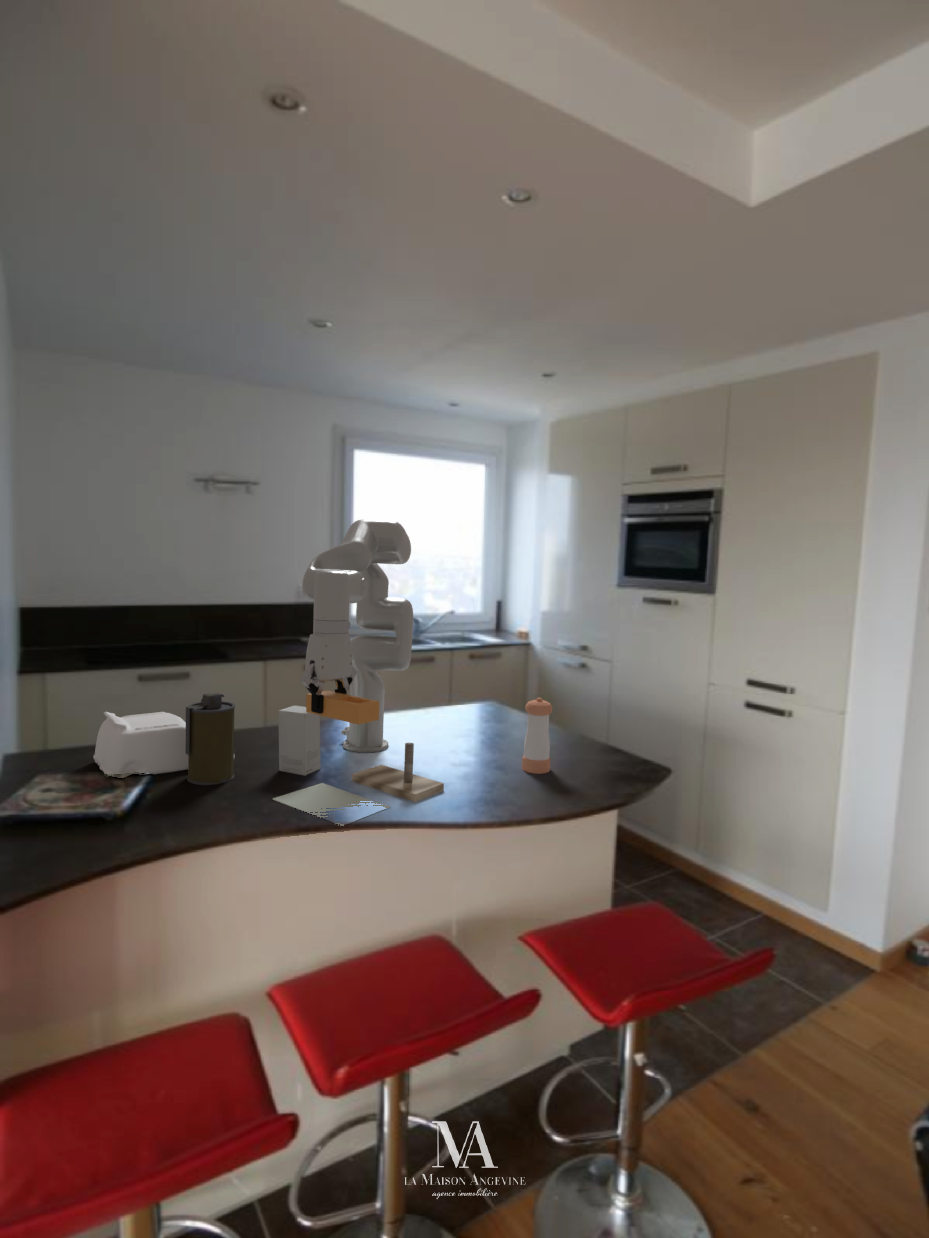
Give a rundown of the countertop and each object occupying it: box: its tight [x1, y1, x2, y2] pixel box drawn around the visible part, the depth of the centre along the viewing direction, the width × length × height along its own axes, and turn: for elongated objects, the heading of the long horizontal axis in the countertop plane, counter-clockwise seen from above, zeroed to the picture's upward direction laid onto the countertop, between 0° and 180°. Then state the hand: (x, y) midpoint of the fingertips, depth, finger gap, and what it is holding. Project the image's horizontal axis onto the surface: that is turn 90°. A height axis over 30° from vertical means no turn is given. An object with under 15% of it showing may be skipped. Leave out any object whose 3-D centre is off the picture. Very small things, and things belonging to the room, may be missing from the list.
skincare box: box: [277, 705, 321, 777], centre depth 165 cm, size 8×7×16 cm
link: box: [305, 690, 379, 725], centre depth 143 cm, size 16×6×4 cm, turn 54°
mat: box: [272, 782, 391, 827], centre depth 144 cm, size 22×14×1 cm, turn 53°
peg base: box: [351, 742, 445, 803], centre depth 156 cm, size 20×10×11 cm, turn 53°
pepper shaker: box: [521, 697, 554, 775], centre depth 173 cm, size 7×7×19 cm
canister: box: [185, 692, 236, 786], centre depth 156 cm, size 11×10×20 cm
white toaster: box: [93, 711, 235, 775], centre depth 167 cm, size 19×30×13 cm, turn 128°
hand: (328, 709), depth 146 cm, fingers closed on link, 6 cm apart
